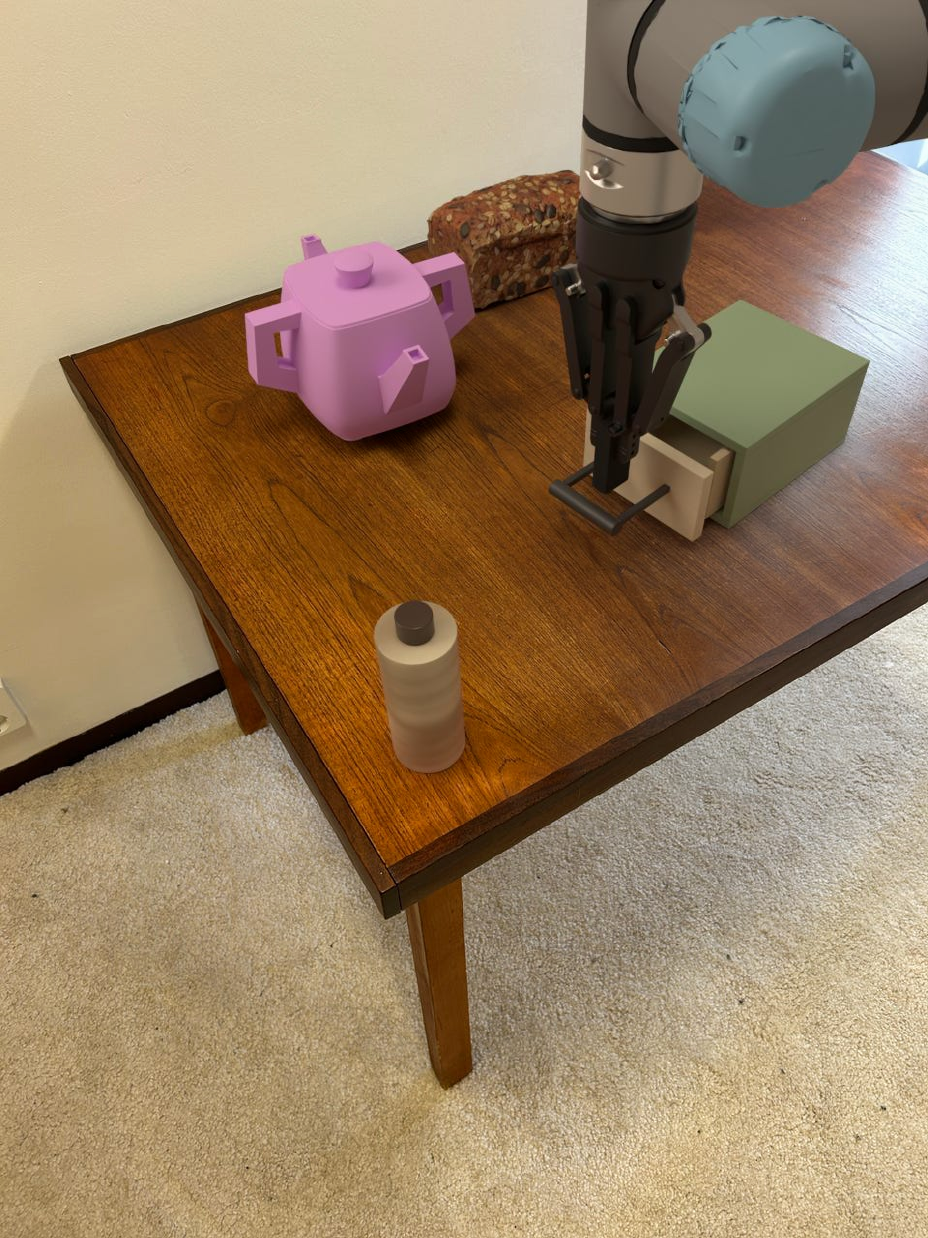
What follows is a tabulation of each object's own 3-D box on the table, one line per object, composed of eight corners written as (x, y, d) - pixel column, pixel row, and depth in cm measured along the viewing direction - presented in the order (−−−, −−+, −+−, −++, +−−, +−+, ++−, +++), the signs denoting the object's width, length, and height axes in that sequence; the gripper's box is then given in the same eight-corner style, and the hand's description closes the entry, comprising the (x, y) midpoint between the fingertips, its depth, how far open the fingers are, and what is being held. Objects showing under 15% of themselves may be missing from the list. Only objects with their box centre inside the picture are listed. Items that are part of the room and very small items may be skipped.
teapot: (434, 474, 88) (422, 328, 77) (250, 447, 92) (213, 304, 81) (485, 356, 100) (481, 215, 89) (321, 336, 104) (297, 198, 93)
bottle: (480, 743, 69) (473, 615, 58) (424, 786, 67) (407, 662, 56) (433, 700, 72) (419, 570, 61) (378, 740, 70) (353, 613, 59)
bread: (472, 318, 105) (469, 230, 97) (426, 275, 111) (420, 189, 104) (613, 269, 110) (621, 182, 103) (562, 230, 117) (565, 146, 109)
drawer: (633, 586, 77) (642, 523, 72) (524, 508, 83) (524, 445, 78) (805, 457, 86) (824, 393, 81) (695, 396, 93) (706, 333, 88)
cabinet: (728, 529, 82) (747, 448, 75) (609, 454, 89) (616, 374, 82) (844, 441, 89) (870, 360, 82) (724, 378, 96) (740, 298, 89)
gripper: (522, 183, 62) (521, 466, 80) (678, 256, 55) (638, 547, 73) (603, 145, 65) (584, 426, 83) (760, 210, 58) (703, 500, 76)
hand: (610, 482), depth 78 cm, fingers closed
